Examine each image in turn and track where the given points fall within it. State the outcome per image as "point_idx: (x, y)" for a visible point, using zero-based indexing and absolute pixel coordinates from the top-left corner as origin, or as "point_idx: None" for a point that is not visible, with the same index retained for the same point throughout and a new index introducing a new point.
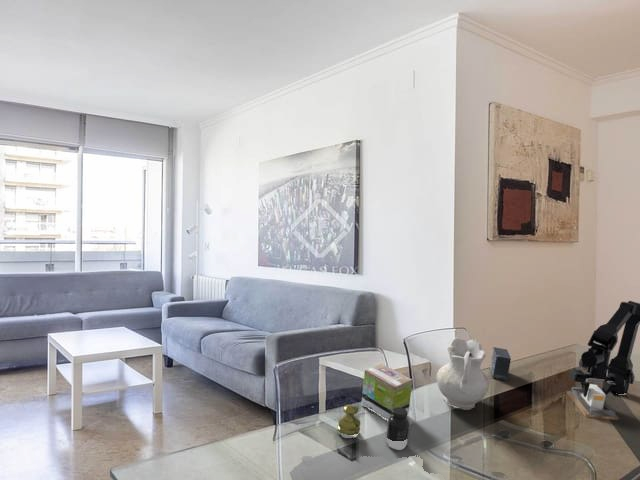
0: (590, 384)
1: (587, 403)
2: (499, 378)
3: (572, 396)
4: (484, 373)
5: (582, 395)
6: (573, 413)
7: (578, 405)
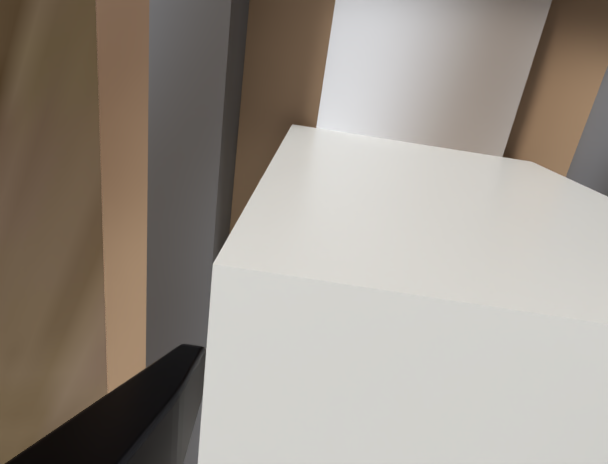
0: (568, 375)
1: (195, 453)
2: None
3: (112, 68)
4: None
5: (289, 132)
6: (4, 456)
7: (110, 350)
